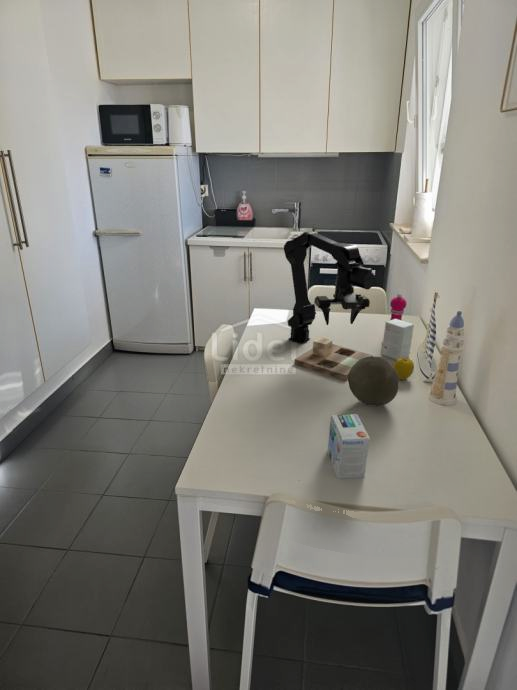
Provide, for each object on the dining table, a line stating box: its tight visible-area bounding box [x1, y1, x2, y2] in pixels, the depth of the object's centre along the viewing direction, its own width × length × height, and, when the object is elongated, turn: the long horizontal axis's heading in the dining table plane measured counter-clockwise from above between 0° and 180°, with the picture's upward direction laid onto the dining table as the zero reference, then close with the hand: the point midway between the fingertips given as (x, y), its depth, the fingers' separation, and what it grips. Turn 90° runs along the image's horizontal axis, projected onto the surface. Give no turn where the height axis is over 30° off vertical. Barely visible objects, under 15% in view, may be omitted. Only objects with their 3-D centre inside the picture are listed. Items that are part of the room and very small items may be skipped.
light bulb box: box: [326, 413, 371, 479], centre depth 106 cm, size 11×7×11 cm, turn 5°
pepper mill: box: [389, 293, 407, 321], centre depth 177 cm, size 7×7×20 cm
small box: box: [381, 319, 415, 361], centre depth 166 cm, size 8×6×13 cm
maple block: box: [312, 336, 333, 357], centre depth 163 cm, size 5×5×5 cm
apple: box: [392, 357, 415, 380], centre depth 149 cm, size 6×6×8 cm
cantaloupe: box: [347, 356, 400, 407], centre depth 131 cm, size 14×14×15 cm
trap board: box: [294, 343, 374, 381], centre depth 161 cm, size 20×21×2 cm
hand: (339, 324), depth 162 cm, fingers open, 9 cm apart
